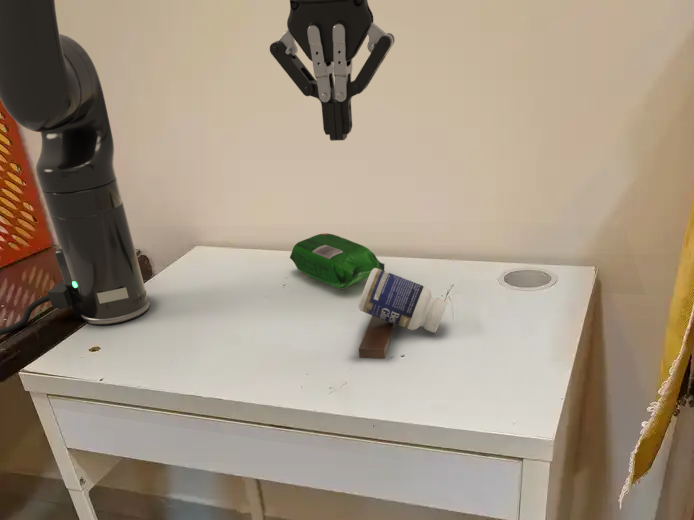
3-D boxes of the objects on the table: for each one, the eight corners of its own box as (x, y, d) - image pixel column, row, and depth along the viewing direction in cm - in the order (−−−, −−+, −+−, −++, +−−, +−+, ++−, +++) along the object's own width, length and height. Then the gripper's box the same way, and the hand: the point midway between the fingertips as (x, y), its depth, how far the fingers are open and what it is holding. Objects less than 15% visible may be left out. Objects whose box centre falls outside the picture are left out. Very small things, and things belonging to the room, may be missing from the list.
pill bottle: (356, 305, 84) (435, 335, 84) (373, 262, 84) (452, 291, 83) (358, 313, 89) (431, 341, 89) (373, 272, 89) (447, 300, 89)
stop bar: (359, 357, 84) (358, 348, 83) (376, 314, 93) (376, 305, 92) (384, 358, 83) (384, 349, 82) (399, 314, 92) (399, 305, 92)
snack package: (346, 301, 97) (344, 264, 94) (286, 271, 108) (282, 236, 105) (388, 287, 100) (387, 250, 97) (326, 259, 111) (323, 225, 108)
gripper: (400, -68, 69) (405, 129, 79) (268, -56, 71) (289, 133, 81) (387, -67, 63) (394, 145, 73) (243, -55, 65) (269, 149, 76)
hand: (338, 138), depth 77 cm, fingers closed
